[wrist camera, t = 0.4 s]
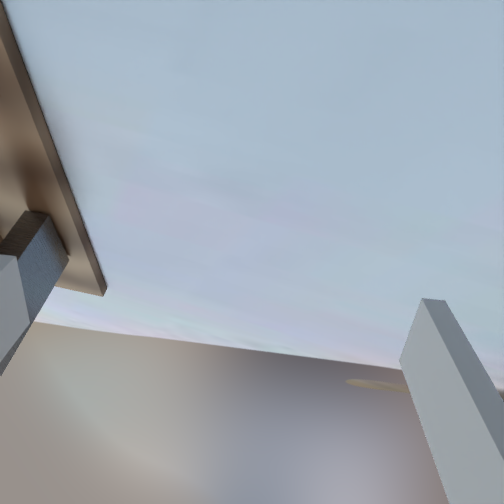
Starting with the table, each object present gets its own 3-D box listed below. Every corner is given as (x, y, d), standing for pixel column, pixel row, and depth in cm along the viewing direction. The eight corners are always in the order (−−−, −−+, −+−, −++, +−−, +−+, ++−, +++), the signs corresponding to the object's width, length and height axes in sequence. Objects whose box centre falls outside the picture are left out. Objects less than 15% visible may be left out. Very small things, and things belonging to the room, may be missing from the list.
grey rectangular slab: (25, 209, 34) (-66, 332, 27) (49, 214, 34) (-37, 339, 27) (48, 255, 39) (-24, 369, 32) (69, 260, 39) (1, 376, 32)
